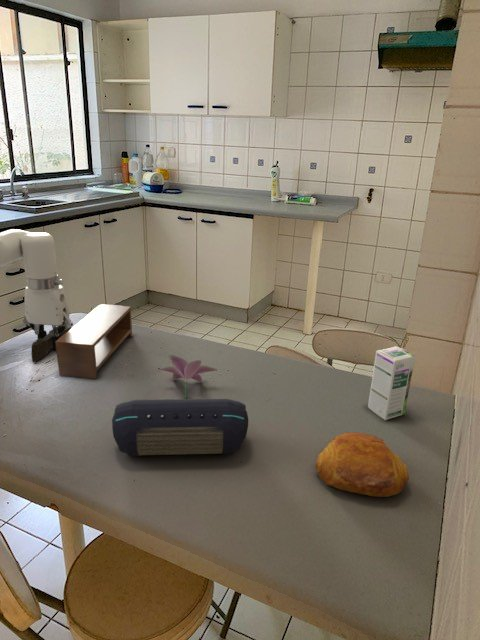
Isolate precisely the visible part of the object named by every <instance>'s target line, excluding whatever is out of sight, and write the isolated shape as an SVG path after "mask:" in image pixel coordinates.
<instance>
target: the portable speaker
mask: <svg viewBox="0 0 480 640" xmlns="http://www.w3.org/2000/svg"><path fill="white" fill-rule="evenodd" d="M248 428H249V415H248V412H247V405H246V404H245V403H244V402H241V401H239V400H234V399H229V398H183V399H182V398H180V399H179V398H177V399H175V398H174V399H173V398H171V399H166V398H165V399H132V400H129V401H125V402H124V401H123V402H120V403H119V404H116V405H115V408H114V413H113V416H112V419H111V429H112V436H113V439H114V441H115V443H116V445H117V447H118V450H119V451H120V452H121V453H123V454H125V455H127V456H163V455H167V456H168V455H214V454H217V455H218V454H221V455H223V454H233V453H235V452H237V451H238V450H240V449H241V447H242V444H243V443H244V441H245V439H246V437H247V434H248Z"/></svg>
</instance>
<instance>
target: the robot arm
mask: <svg viewBox="0 0 480 640" xmlns="http://www.w3.org/2000/svg"><path fill="white" fill-rule="evenodd" d="M55 246H56V245H55V240H54V237H53V235H51V234H50V233H48V232H31V231H26V230H22V229H17V228H16V229H15V228H10V229H7V230H4V231H1V232H0V268H2V267H5V266H8V265H9V264H10V265H11V264H12V263H14V262H17V261H19V260H23V266H24V273H25V274H24V275H25V281H26V286H25V288H24V314H25V315H24V317H23V319H22V322H23V324H25V325H26V326H28V327H30V329H32V331H33V332H34V334H35V335H36V336H37V339H39V338H44V337H45V336H46V335H47V334H48V333H47V330H46V329H45V326H51V328H52V330H53V332H54V336H53V350H55V351H56V343H55V342H56V341H57V340H58V339H59V338H60V337H62V332H63V331H64V330H66V329H68V328H70V327H73V326H74V323H73V321H72V319H71V318H70V309H69V305H68V300H67V299H68V298H67V296H66V293H65V289H64V286H62V285H63V284H64V279H62V278H60V277H59V274H58V273H59V272H58V264H57V254H56V247H55ZM63 321H64V323H65V324H64V325H63V326H62V324H63Z"/></svg>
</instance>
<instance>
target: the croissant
mask: <svg viewBox="0 0 480 640" xmlns="http://www.w3.org/2000/svg"><path fill="white" fill-rule="evenodd" d="M314 466H315V467H314V468H315V470H316V471H317V473H318V476H319V478H320V479H321V481H322V482H324V483H325V484H326V485H327V486H330V487H333V488H335V489H338V490H341V491H346V492H348V493H353V494H360V495H365V496H369V497H376V498H381V497H386V498H387V497H391V496H396V495H397V494H400V493H401V492H402V491H403V490H404V487H405V485H407V484H408V481H409V479H410V478H409V477H410V476H409V471H408V468H407V464H405V463H404V462H403V461H402V459H401V457H400V456H399V455H398V454H396V453H394V452H393V451H392V449H391V448H390V447H389V445H387V444H386V443H385V442H384V439H383V438H380V437H378V436H375V435H374V434H373V435H372V434H369V433H365V432H357V431H356V432H353V431H352V432H351V431H350V432H344V433H342V434H339V435H336V436H334V438H333V439H332V440H330V441H329V442H328V443H327V446H326V447H324V448H323V450H322V451H321V452H320V453H318V455H317V461H316V462H315V465H314Z"/></svg>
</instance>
